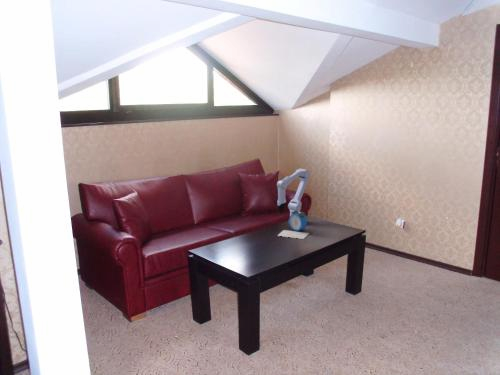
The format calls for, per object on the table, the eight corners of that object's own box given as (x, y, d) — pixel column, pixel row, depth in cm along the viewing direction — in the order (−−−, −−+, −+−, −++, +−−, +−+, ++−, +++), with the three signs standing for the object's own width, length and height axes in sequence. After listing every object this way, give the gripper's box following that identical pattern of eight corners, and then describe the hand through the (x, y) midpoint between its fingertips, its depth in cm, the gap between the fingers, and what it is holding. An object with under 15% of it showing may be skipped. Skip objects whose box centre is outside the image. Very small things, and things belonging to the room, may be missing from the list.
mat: (283, 230, 312) (283, 230, 312) (309, 233, 304) (309, 233, 303) (277, 236, 299) (277, 235, 299) (303, 239, 291) (303, 238, 291)
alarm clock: (288, 229, 313) (288, 210, 311) (293, 228, 318) (294, 209, 315) (301, 232, 304) (302, 213, 302) (307, 231, 308) (307, 211, 306)
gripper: (280, 193, 328) (280, 210, 331) (273, 197, 315) (273, 214, 318) (288, 194, 325) (288, 210, 328) (282, 198, 313) (282, 215, 315)
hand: (281, 212), depth 323 cm, fingers closed
